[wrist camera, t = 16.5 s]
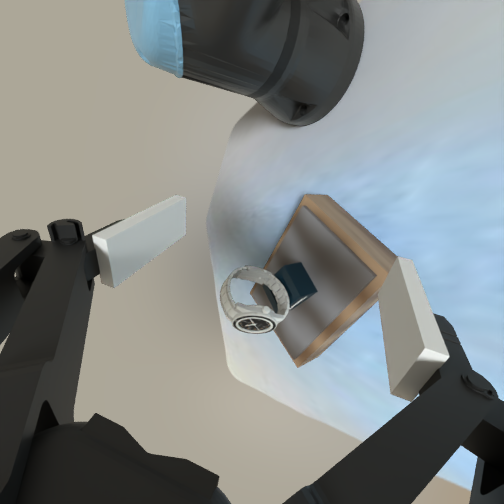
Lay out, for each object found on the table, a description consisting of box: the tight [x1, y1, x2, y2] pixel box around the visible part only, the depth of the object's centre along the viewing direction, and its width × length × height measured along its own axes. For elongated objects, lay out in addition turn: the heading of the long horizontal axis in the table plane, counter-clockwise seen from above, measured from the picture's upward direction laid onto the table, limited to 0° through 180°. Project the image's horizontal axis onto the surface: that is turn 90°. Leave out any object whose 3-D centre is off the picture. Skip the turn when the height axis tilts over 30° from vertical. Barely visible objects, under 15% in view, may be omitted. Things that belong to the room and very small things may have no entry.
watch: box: [220, 262, 318, 334], centre depth 32 cm, size 6×8×11 cm
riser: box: [250, 194, 397, 368], centre depth 36 cm, size 20×14×5 cm
